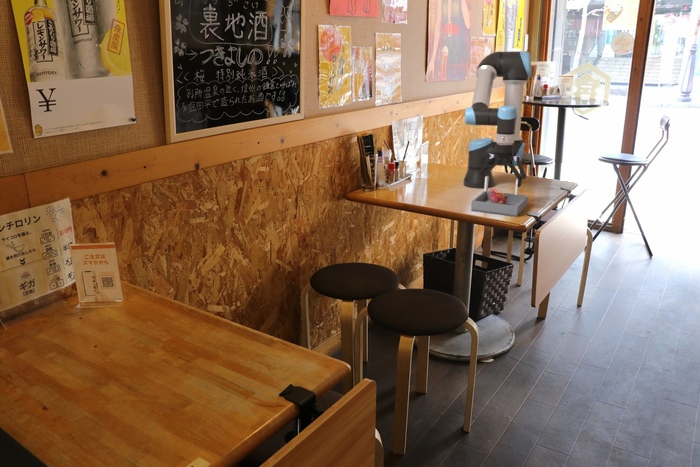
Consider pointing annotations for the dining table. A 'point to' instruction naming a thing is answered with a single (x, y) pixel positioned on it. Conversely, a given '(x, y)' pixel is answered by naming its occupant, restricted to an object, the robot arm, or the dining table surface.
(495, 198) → the flower
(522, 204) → the bin
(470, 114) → the robot arm
